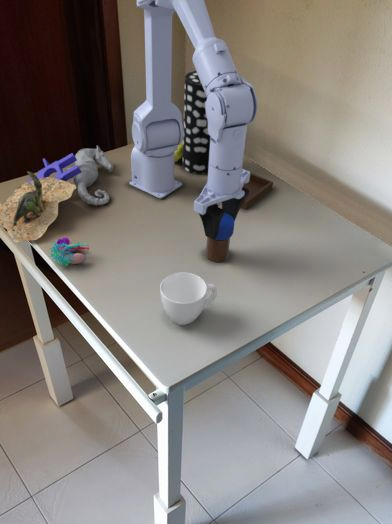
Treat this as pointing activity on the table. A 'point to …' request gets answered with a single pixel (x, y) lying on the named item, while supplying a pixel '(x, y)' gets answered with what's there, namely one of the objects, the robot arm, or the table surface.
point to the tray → (256, 189)
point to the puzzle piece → (59, 169)
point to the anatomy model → (66, 247)
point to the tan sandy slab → (34, 207)
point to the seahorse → (90, 174)
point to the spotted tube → (195, 126)
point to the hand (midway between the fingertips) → (219, 230)
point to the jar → (217, 249)
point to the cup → (185, 296)
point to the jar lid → (225, 227)
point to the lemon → (179, 153)
